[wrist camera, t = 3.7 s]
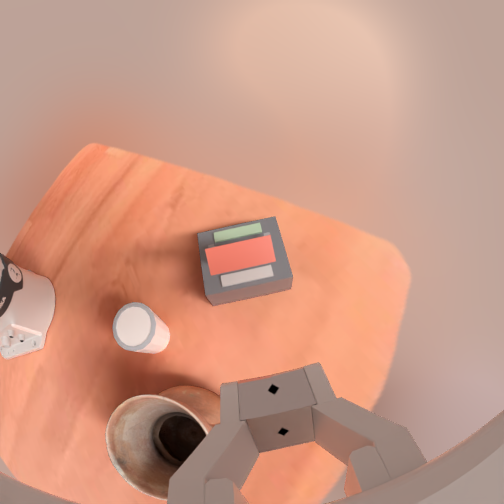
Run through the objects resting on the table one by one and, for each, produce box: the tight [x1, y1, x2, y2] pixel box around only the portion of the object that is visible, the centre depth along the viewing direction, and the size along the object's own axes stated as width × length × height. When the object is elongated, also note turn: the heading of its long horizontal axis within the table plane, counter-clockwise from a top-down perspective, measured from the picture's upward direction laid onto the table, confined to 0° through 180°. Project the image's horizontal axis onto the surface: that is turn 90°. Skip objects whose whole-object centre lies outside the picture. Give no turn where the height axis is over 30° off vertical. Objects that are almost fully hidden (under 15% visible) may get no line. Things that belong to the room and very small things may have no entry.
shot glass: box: [113, 302, 170, 354], centre depth 37 cm, size 7×7×7 cm
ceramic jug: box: [105, 386, 220, 500], centre depth 27 cm, size 18×14×14 cm
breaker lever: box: [205, 235, 276, 275], centre depth 33 cm, size 3×6×13 cm, turn 102°
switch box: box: [197, 217, 293, 306], centre depth 41 cm, size 10×12×8 cm
